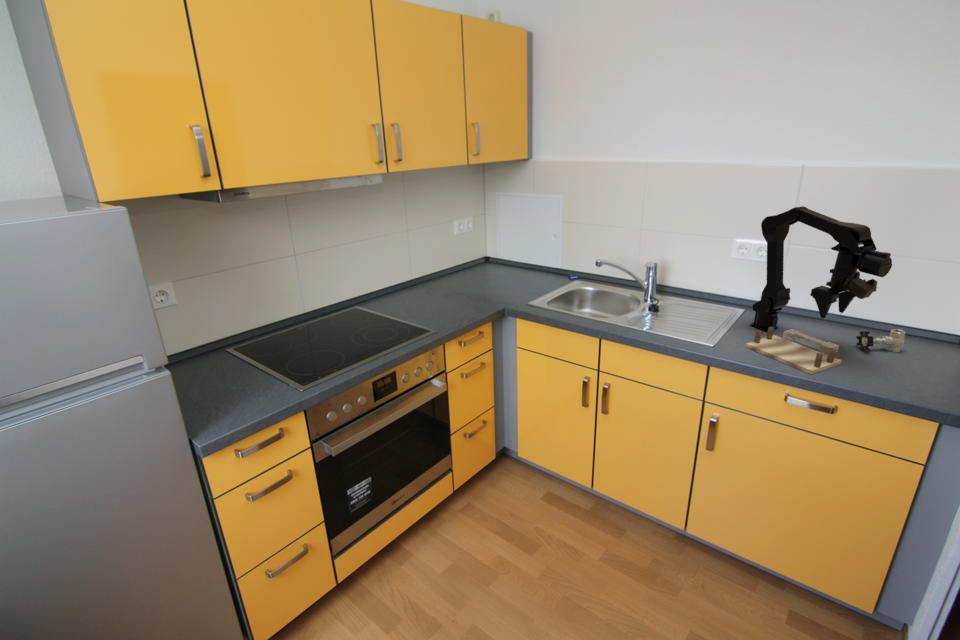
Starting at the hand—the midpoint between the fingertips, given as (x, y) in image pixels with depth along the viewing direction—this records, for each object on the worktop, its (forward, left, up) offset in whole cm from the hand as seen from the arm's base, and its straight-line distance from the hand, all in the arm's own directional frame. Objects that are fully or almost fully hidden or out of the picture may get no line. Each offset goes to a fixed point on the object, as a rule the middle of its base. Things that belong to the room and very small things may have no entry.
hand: (832, 315), depth 156 cm
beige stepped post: (-4, -1, -12) cm, 13 cm away
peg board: (-2, -13, -12) cm, 17 cm away
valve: (+9, +15, -12) cm, 21 cm away
